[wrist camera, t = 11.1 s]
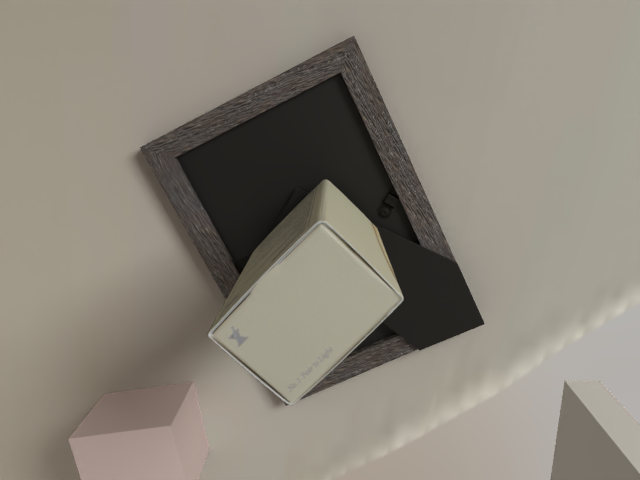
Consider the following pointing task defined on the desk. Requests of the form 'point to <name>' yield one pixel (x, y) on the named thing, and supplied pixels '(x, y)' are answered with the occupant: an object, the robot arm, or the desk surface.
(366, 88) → the picture frame
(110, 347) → the desk surface
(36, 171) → the desk surface
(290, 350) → the skincare box
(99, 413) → the pink box
